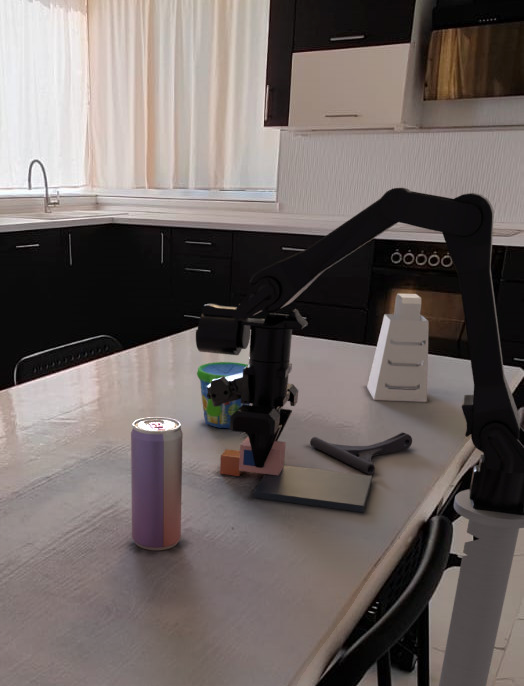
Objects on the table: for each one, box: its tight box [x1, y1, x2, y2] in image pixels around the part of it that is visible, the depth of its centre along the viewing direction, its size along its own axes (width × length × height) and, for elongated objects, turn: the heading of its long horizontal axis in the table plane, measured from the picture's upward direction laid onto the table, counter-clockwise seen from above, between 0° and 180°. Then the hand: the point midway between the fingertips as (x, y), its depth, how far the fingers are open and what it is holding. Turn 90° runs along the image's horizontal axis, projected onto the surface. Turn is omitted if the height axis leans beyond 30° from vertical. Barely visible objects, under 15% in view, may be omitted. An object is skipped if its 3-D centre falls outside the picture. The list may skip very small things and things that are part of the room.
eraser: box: [239, 436, 287, 475], centre depth 114 cm, size 6×4×4 cm
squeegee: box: [309, 432, 413, 475], centre depth 125 cm, size 14×15×3 cm
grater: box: [366, 293, 430, 403], centre depth 156 cm, size 10×10×20 cm
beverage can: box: [130, 416, 184, 552], centre depth 91 cm, size 6×6×15 cm
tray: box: [253, 464, 373, 513], centre depth 110 cm, size 15×12×1 cm
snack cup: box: [196, 361, 251, 429], centre depth 138 cm, size 16×10×10 cm
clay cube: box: [219, 449, 244, 477], centre depth 116 cm, size 3×3×3 cm
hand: (262, 462), depth 115 cm, fingers closed on eraser, 4 cm apart
